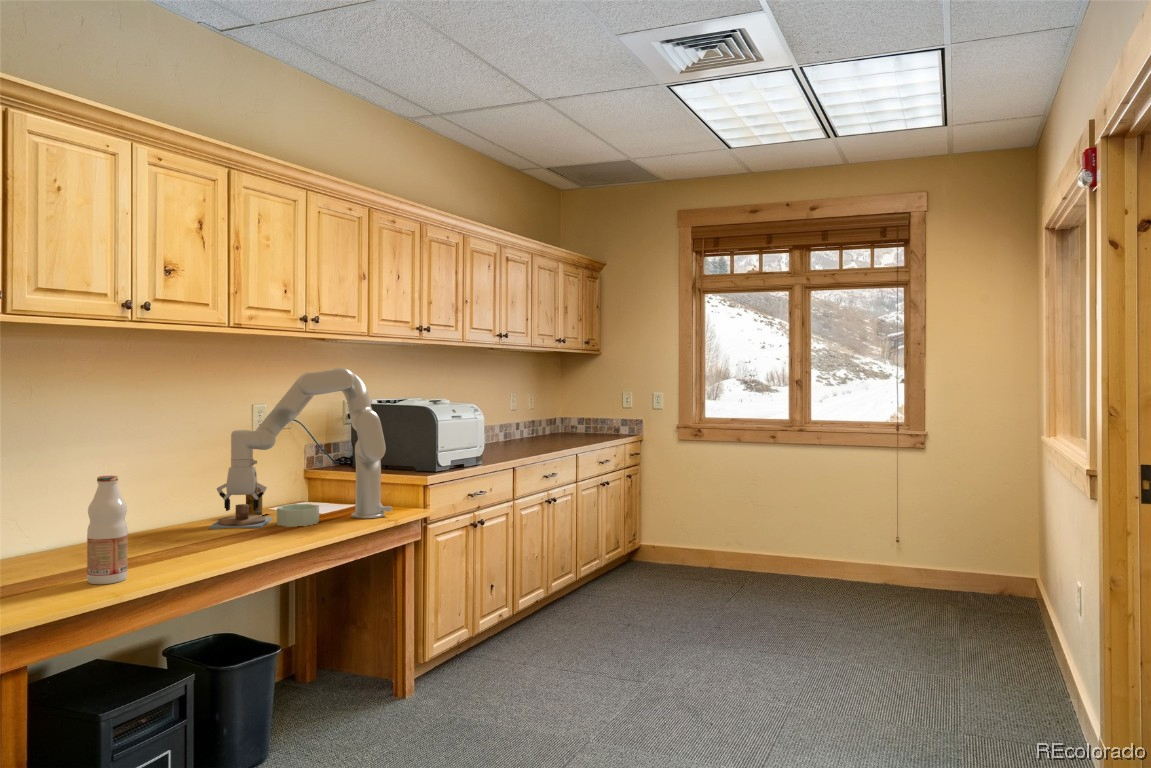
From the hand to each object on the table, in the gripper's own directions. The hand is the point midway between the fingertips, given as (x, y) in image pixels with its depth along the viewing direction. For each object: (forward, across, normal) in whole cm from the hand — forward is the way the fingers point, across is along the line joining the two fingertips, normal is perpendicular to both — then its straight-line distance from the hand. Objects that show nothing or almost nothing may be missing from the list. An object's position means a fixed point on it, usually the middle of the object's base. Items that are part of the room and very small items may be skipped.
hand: (241, 510), depth 305 cm
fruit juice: (+5, +15, +81) cm, 83 cm away
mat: (+5, 0, 0) cm, 5 cm away
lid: (+4, 0, 0) cm, 4 cm away
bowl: (+5, -20, 0) cm, 21 cm away
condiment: (+5, -1, -18) cm, 19 cm away
